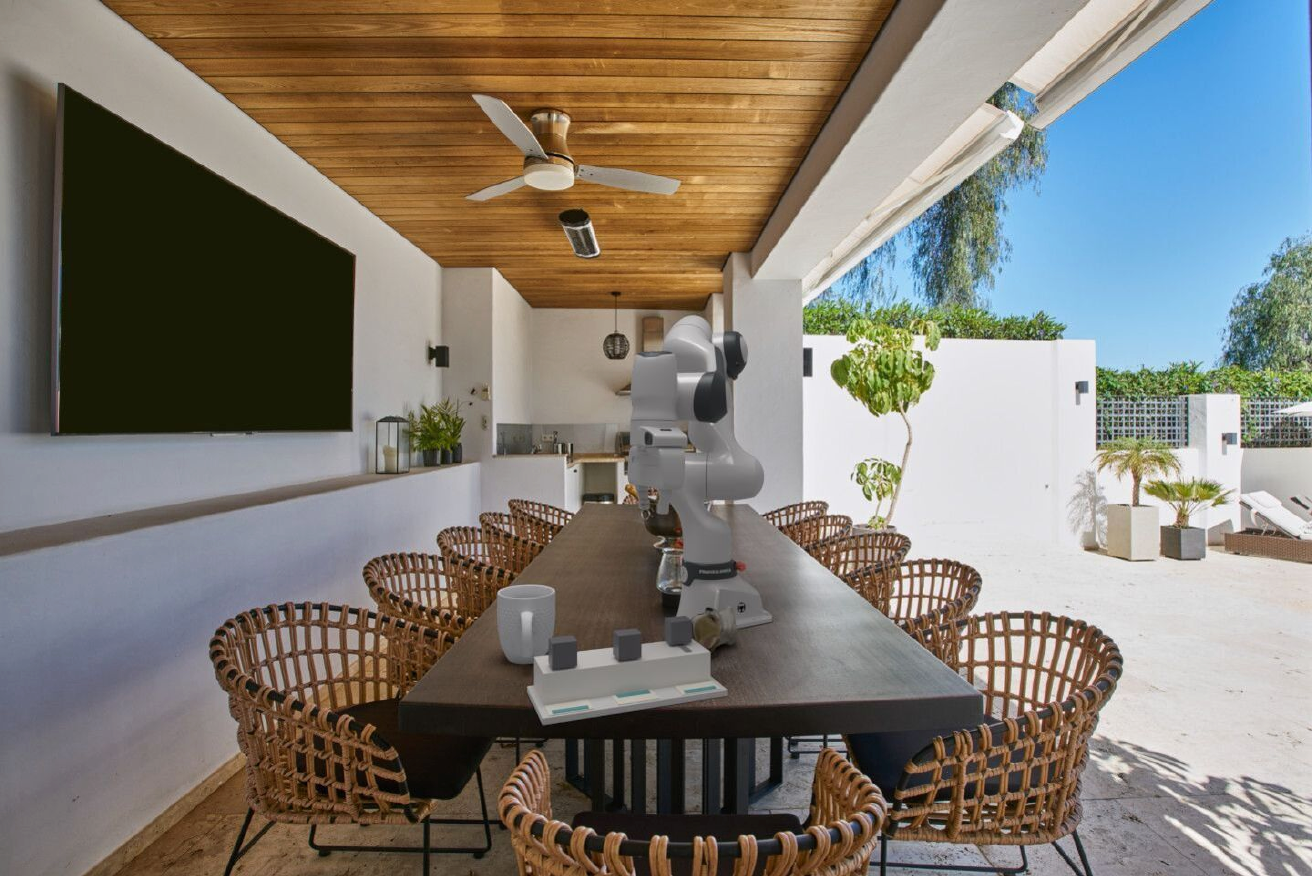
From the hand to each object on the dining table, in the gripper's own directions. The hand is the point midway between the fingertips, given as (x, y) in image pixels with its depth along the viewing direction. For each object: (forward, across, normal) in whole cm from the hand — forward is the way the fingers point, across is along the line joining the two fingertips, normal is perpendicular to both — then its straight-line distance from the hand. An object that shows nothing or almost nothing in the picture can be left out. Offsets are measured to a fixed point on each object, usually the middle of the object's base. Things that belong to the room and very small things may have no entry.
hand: (652, 511), depth 120 cm
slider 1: (+23, +9, -19) cm, 31 cm away
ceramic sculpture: (+29, -7, +15) cm, 33 cm away
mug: (+29, -13, -21) cm, 38 cm away
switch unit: (+30, +9, -8) cm, 32 cm away
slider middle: (+23, +9, -8) cm, 26 cm away
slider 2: (+23, +5, +3) cm, 24 cm away
